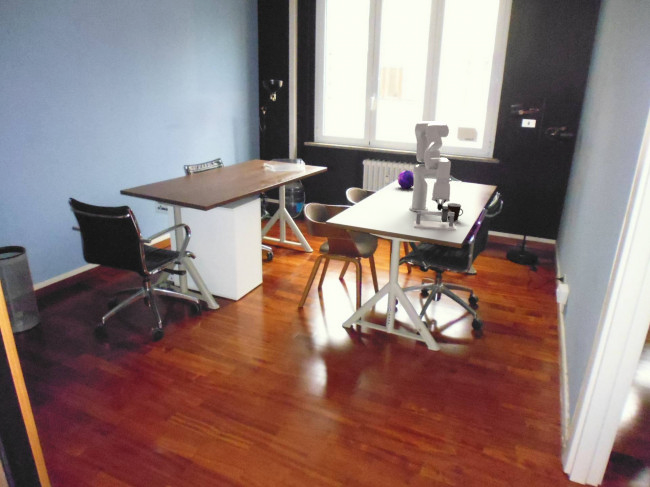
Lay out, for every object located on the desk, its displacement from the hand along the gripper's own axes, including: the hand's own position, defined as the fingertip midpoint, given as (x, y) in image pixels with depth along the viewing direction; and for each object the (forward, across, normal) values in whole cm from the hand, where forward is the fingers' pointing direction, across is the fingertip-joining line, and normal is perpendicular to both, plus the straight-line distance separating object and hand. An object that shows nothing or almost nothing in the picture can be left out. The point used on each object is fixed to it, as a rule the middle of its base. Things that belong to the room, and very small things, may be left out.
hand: (439, 210), depth 293 cm
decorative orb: (+10, +21, -107) cm, 109 cm away
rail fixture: (+10, +2, 0) cm, 11 cm away
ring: (+6, -3, 0) cm, 7 cm away
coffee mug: (+10, -11, -16) cm, 22 cm away
